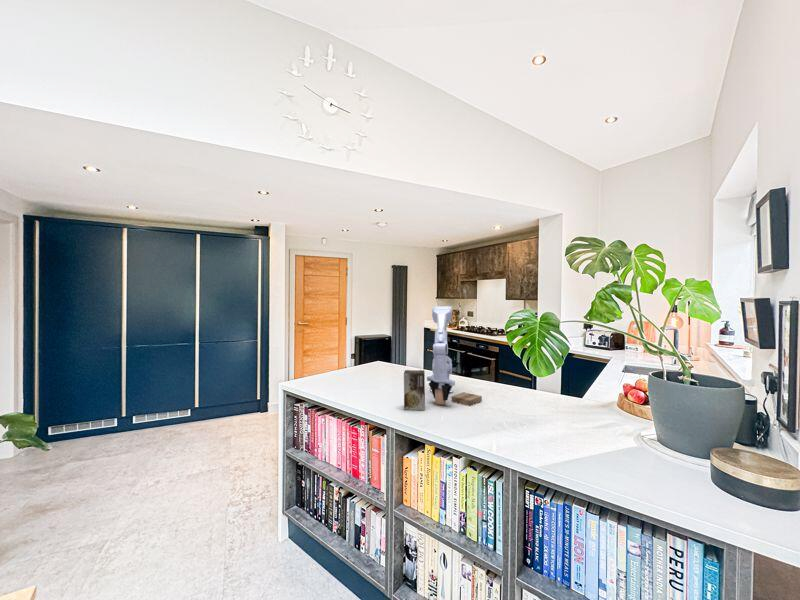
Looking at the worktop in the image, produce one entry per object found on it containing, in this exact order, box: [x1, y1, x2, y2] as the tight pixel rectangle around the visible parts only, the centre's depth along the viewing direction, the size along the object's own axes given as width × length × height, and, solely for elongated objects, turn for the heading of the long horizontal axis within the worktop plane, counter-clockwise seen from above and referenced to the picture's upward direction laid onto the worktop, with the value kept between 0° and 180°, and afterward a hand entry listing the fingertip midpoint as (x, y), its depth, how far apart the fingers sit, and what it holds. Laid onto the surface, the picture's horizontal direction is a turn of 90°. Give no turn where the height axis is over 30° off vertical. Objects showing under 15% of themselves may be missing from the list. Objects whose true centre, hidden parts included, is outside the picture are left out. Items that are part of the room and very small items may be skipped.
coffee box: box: [403, 369, 426, 411], centre depth 155 cm, size 9×6×16 cm
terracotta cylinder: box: [434, 388, 447, 405], centre depth 160 cm, size 5×5×6 cm
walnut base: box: [451, 392, 483, 407], centre depth 164 cm, size 10×10×2 cm
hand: (440, 399), depth 160 cm, fingers closed on terracotta cylinder, 5 cm apart
